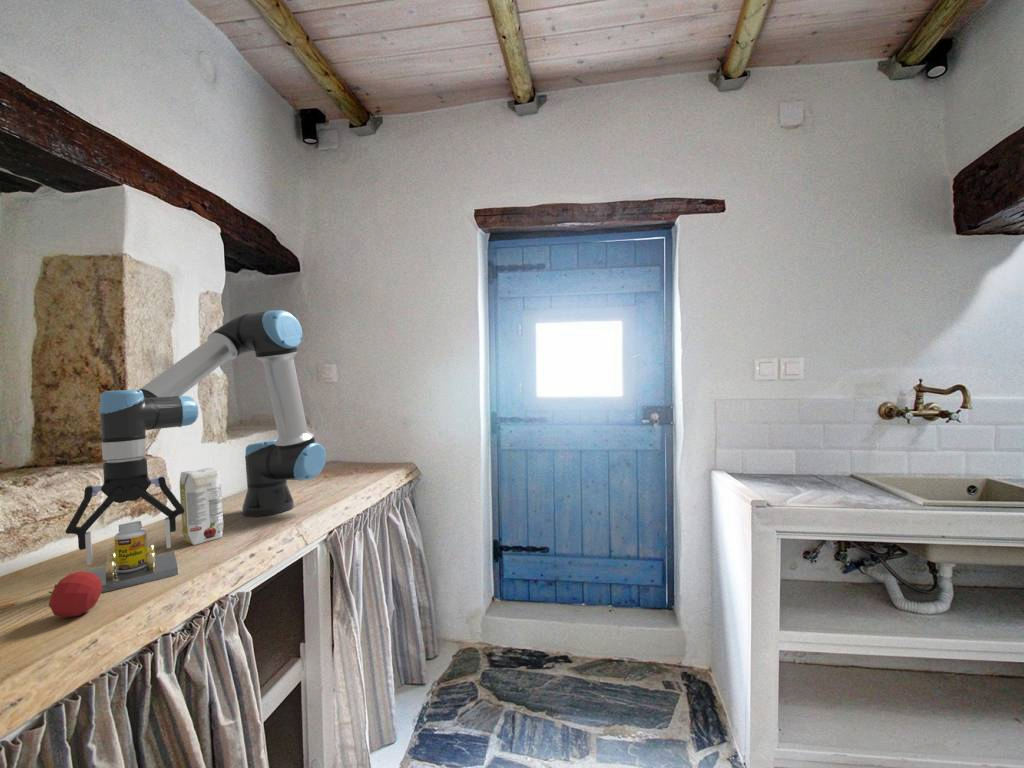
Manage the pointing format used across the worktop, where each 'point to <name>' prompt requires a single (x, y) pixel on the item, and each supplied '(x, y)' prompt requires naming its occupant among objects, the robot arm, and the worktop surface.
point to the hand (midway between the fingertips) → (130, 554)
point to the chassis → (152, 571)
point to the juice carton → (201, 505)
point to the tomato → (75, 594)
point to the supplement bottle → (130, 547)
